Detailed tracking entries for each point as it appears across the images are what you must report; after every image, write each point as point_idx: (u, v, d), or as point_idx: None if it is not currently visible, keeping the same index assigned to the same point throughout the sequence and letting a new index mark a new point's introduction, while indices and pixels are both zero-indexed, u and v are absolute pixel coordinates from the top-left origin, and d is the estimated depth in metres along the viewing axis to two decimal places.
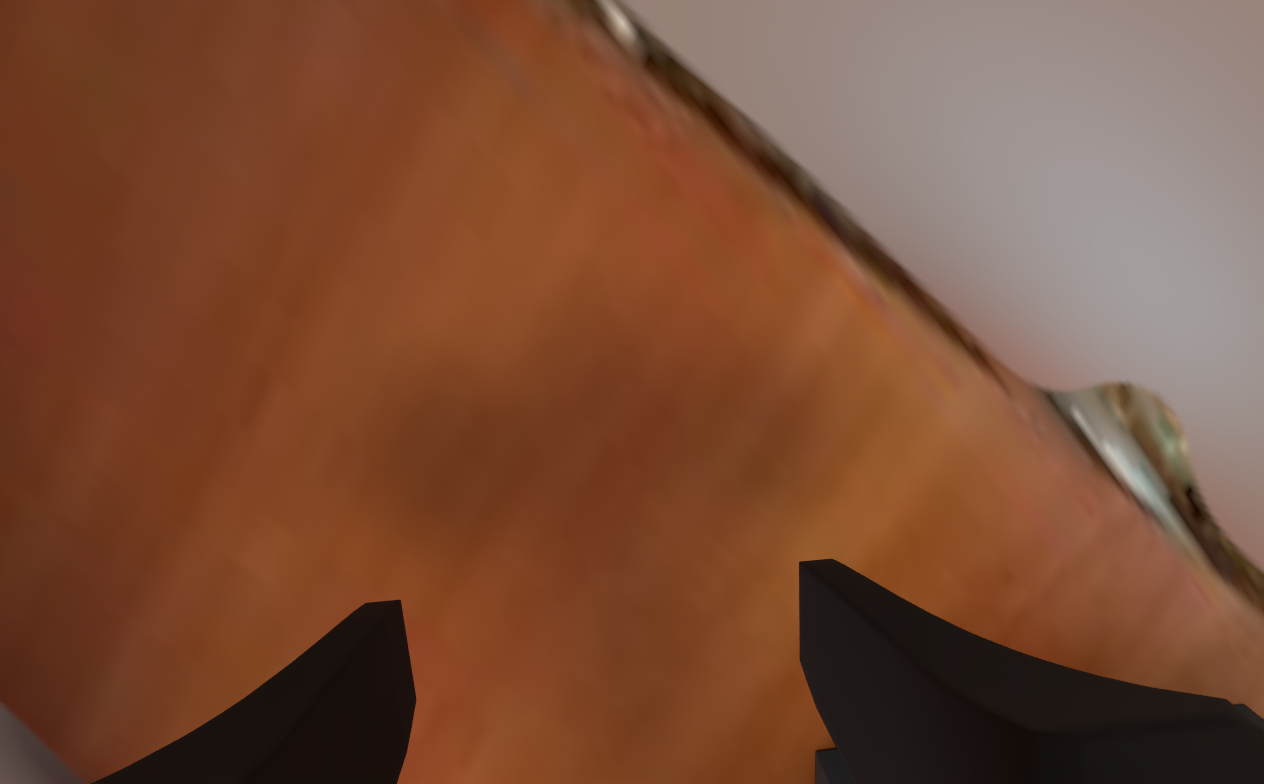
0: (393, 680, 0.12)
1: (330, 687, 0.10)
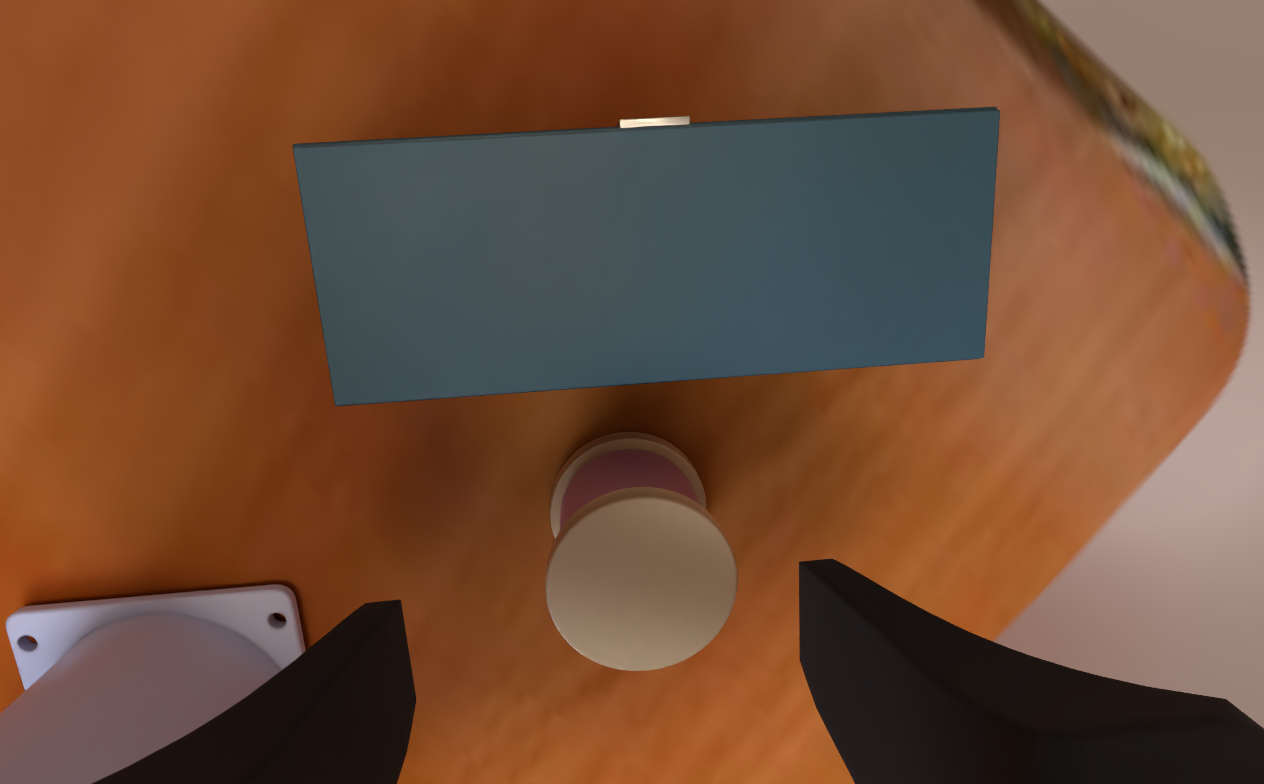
0: (393, 680, 0.12)
1: (330, 688, 0.10)
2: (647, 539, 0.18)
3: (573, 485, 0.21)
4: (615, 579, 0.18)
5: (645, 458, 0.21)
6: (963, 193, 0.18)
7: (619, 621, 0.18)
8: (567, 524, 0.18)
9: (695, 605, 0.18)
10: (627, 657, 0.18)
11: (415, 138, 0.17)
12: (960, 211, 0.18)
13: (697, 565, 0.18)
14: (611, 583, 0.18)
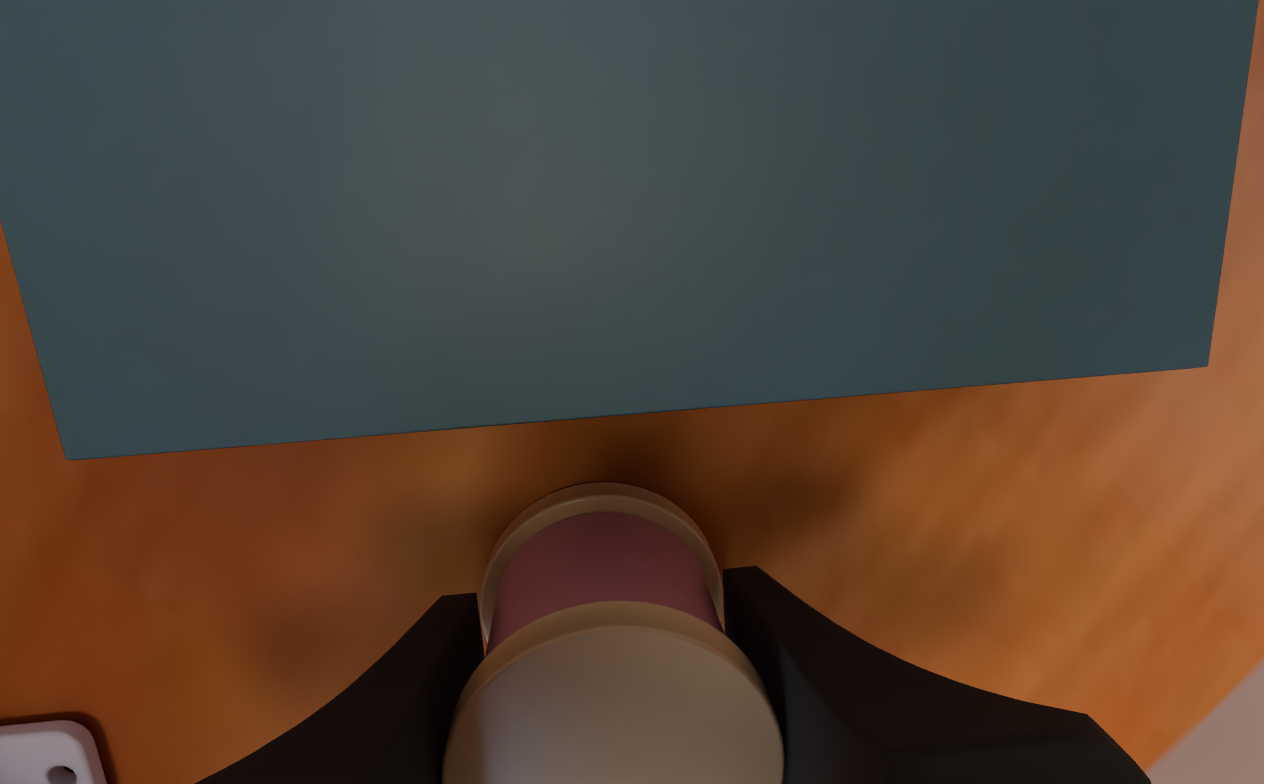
0: None
1: (430, 677, 0.10)
2: (623, 699, 0.10)
3: (511, 573, 0.13)
4: (567, 768, 0.10)
5: (626, 529, 0.13)
6: (1193, 71, 0.10)
7: None
8: (481, 670, 0.10)
9: None
10: None
11: None
12: (1186, 104, 0.10)
13: (714, 740, 0.10)
14: (560, 775, 0.10)
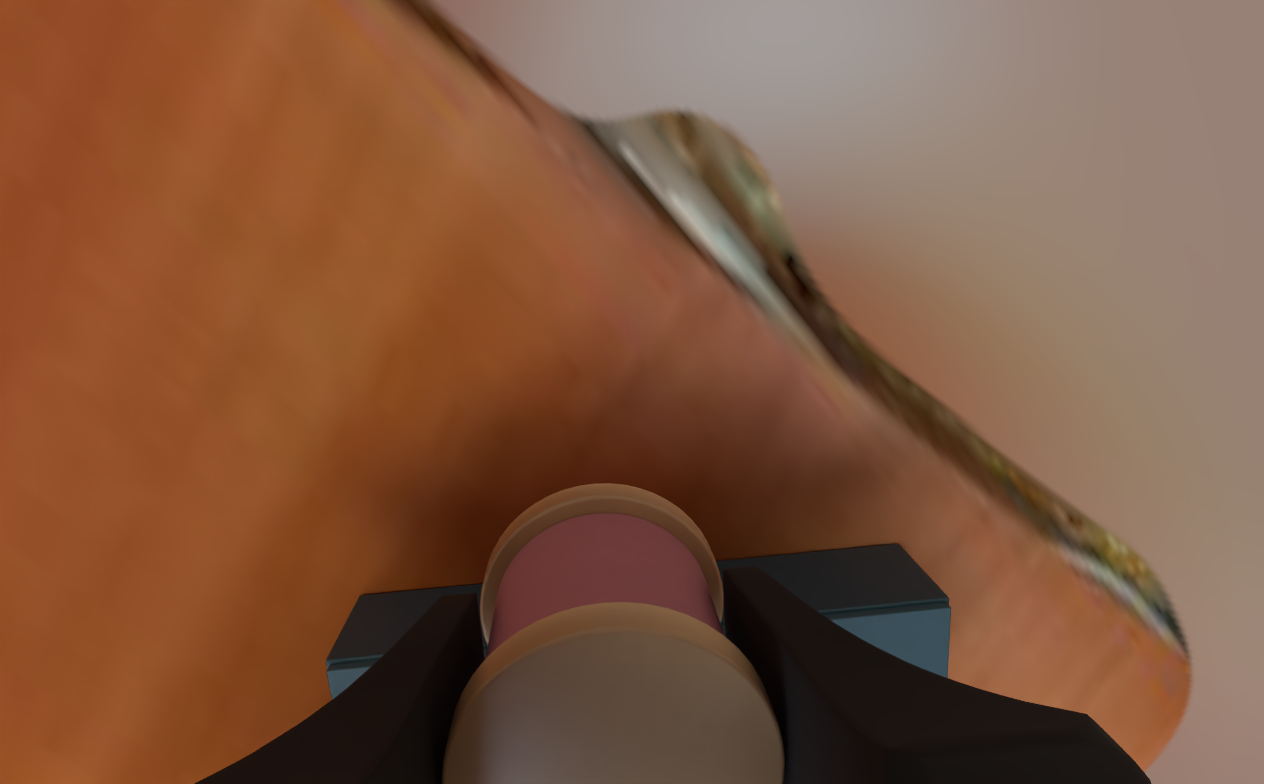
0: (473, 672, 0.12)
1: (430, 677, 0.10)
2: (623, 701, 0.10)
3: (511, 574, 0.13)
4: (567, 769, 0.10)
5: (626, 531, 0.13)
6: None
7: None
8: (481, 672, 0.10)
9: None
10: None
11: None
12: None
13: (713, 742, 0.10)
14: (560, 776, 0.10)
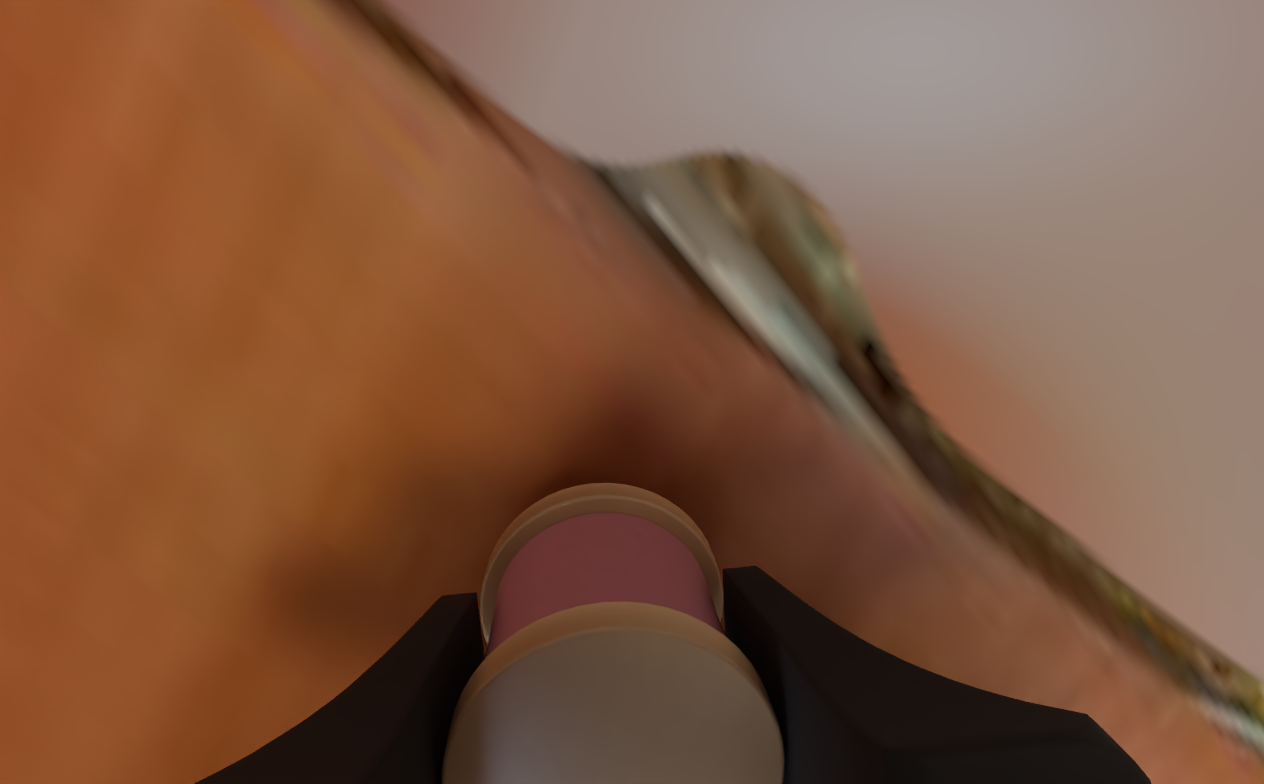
0: None
1: (430, 678, 0.10)
2: (623, 700, 0.10)
3: (511, 573, 0.13)
4: (567, 769, 0.10)
5: (626, 530, 0.13)
6: None
7: None
8: (480, 671, 0.10)
9: None
10: None
11: None
12: None
13: (714, 741, 0.10)
14: (560, 776, 0.10)
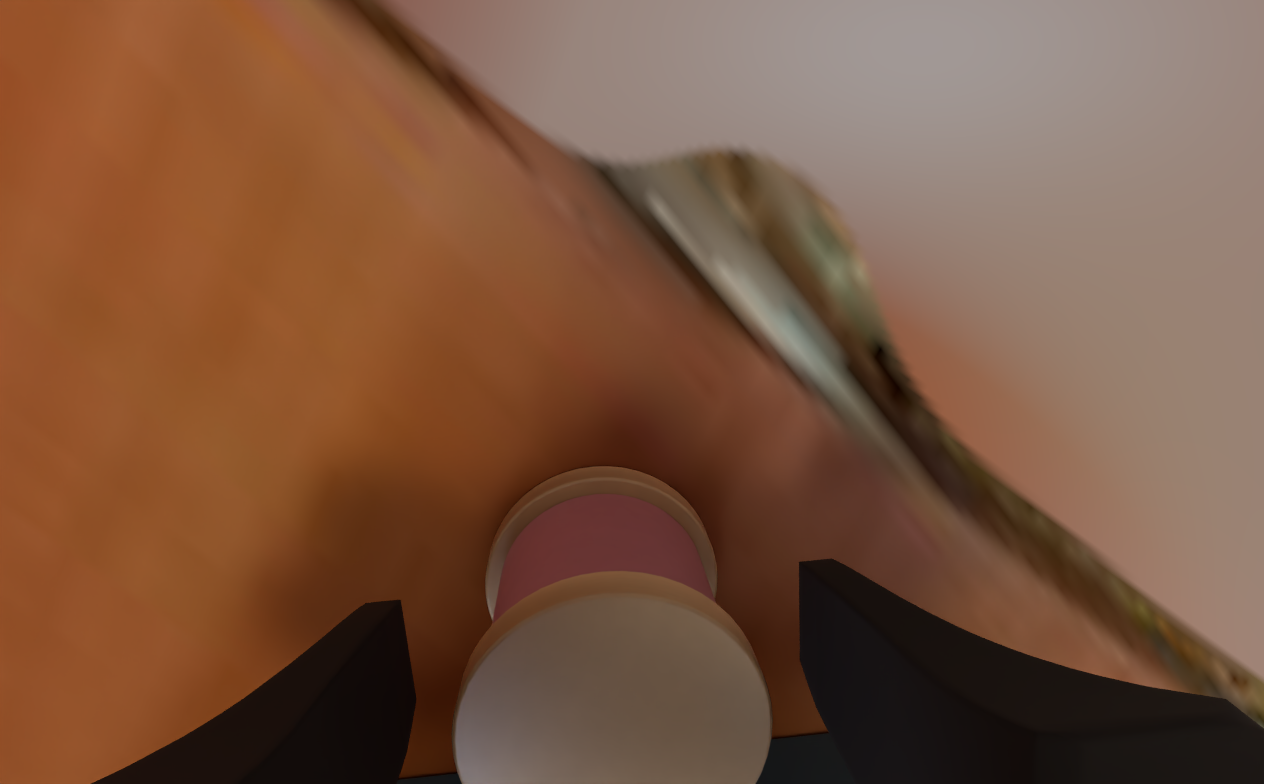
0: (393, 680, 0.12)
1: (330, 687, 0.10)
2: (622, 662, 0.10)
3: (516, 550, 0.14)
4: (569, 727, 0.11)
5: (624, 509, 0.14)
6: None
7: None
8: (488, 635, 0.11)
9: (703, 765, 0.11)
10: None
11: None
12: None
13: (706, 702, 0.11)
14: (562, 733, 0.11)
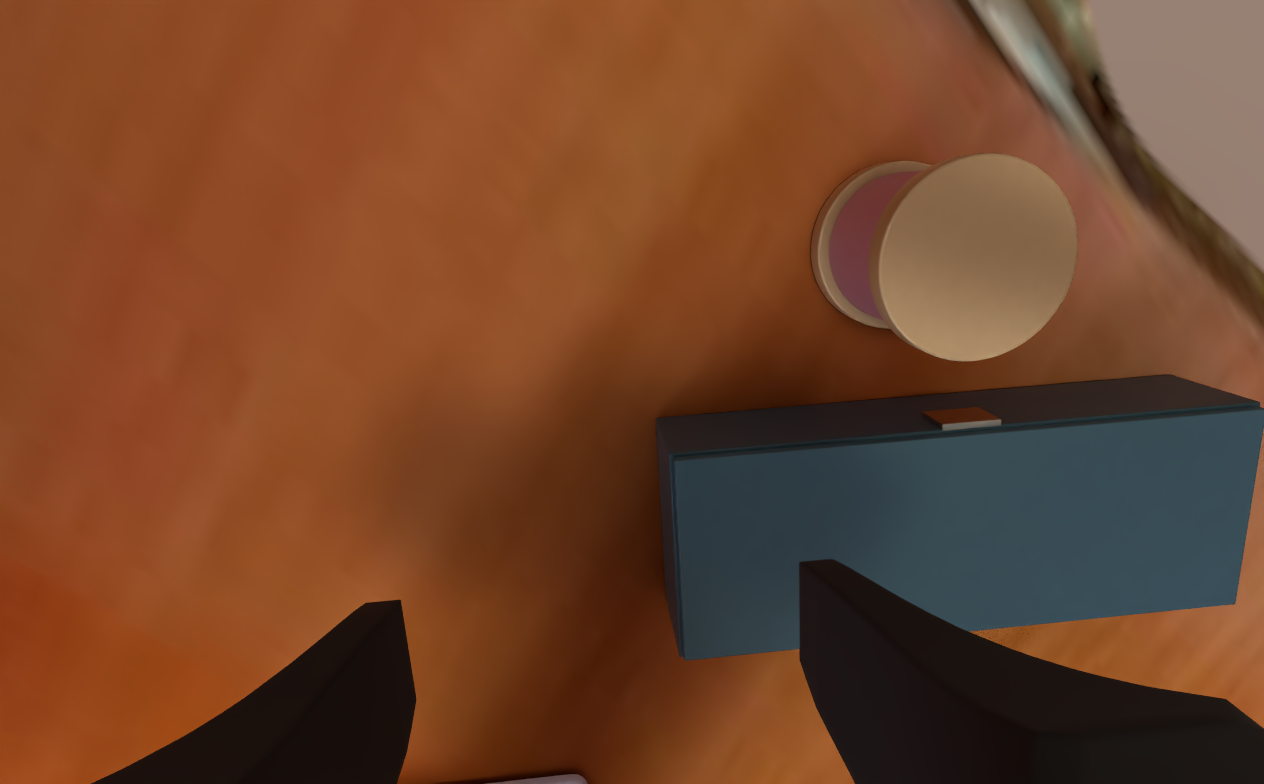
0: (393, 680, 0.12)
1: (329, 688, 0.10)
2: (990, 203, 0.17)
3: (854, 203, 0.20)
4: (952, 250, 0.17)
5: None
6: (1229, 475, 0.20)
7: (951, 301, 0.17)
8: (901, 192, 0.17)
9: (1031, 284, 0.17)
10: (955, 344, 0.17)
11: (770, 444, 0.20)
12: (1226, 489, 0.21)
13: (1038, 236, 0.17)
14: (948, 255, 0.17)
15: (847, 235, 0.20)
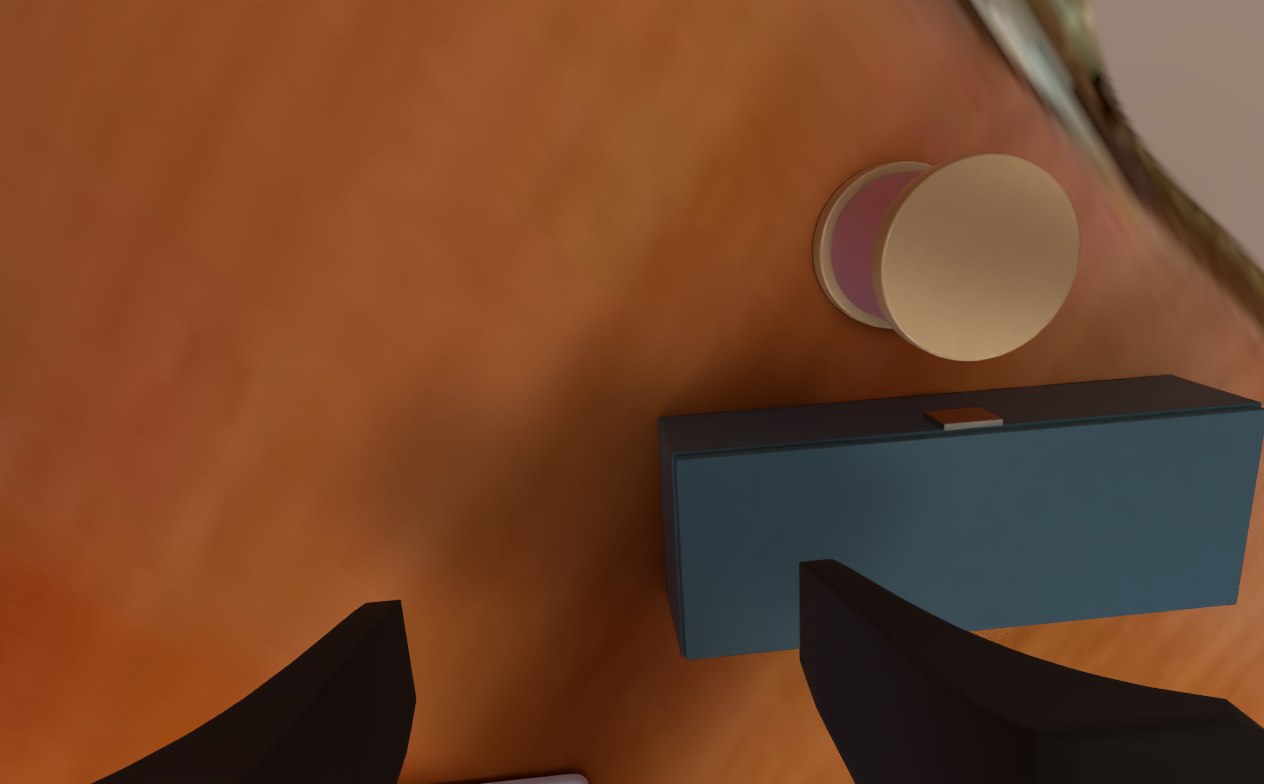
0: (393, 680, 0.12)
1: (330, 687, 0.10)
2: (993, 203, 0.17)
3: (857, 203, 0.20)
4: (955, 250, 0.17)
5: None
6: (1231, 475, 0.20)
7: (954, 300, 0.17)
8: (903, 192, 0.17)
9: (1033, 284, 0.17)
10: (957, 343, 0.17)
11: (772, 444, 0.20)
12: (1227, 489, 0.21)
13: (1041, 236, 0.17)
14: (950, 255, 0.17)
15: (849, 235, 0.20)
